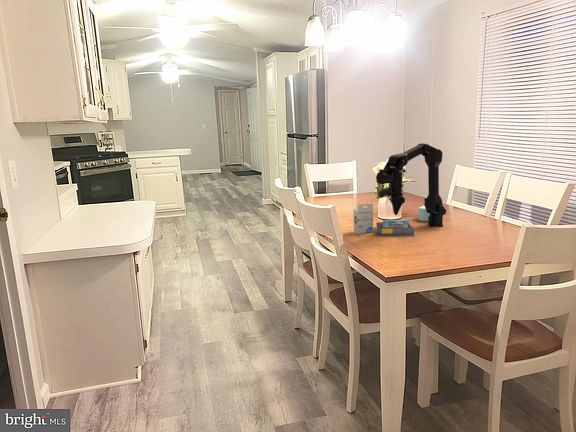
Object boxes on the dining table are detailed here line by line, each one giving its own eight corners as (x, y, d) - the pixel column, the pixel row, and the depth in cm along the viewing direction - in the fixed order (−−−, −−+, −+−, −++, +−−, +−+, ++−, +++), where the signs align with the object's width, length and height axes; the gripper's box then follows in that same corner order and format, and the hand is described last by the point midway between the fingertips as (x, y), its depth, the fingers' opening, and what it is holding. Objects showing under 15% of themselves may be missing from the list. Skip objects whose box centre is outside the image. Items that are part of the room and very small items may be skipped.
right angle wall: (440, 224, 235) (440, 210, 233) (418, 221, 242) (418, 208, 240) (447, 219, 244) (448, 206, 242) (426, 217, 251) (426, 204, 249)
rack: (409, 228, 225) (410, 221, 224) (414, 236, 211) (415, 228, 210) (374, 228, 227) (374, 221, 226) (376, 235, 213) (376, 228, 212)
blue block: (407, 232, 215) (407, 220, 214) (407, 233, 213) (408, 220, 212) (382, 232, 216) (382, 220, 215) (382, 233, 215) (382, 221, 214)
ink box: (368, 230, 224) (369, 201, 221) (373, 232, 219) (373, 203, 216) (353, 231, 222) (353, 202, 219) (357, 234, 217) (357, 204, 214)
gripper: (377, 179, 219) (376, 210, 223) (380, 185, 201) (380, 218, 205) (400, 179, 218) (399, 210, 222) (405, 185, 200) (404, 218, 203)
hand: (395, 214), depth 213 cm, fingers open, 4 cm apart
